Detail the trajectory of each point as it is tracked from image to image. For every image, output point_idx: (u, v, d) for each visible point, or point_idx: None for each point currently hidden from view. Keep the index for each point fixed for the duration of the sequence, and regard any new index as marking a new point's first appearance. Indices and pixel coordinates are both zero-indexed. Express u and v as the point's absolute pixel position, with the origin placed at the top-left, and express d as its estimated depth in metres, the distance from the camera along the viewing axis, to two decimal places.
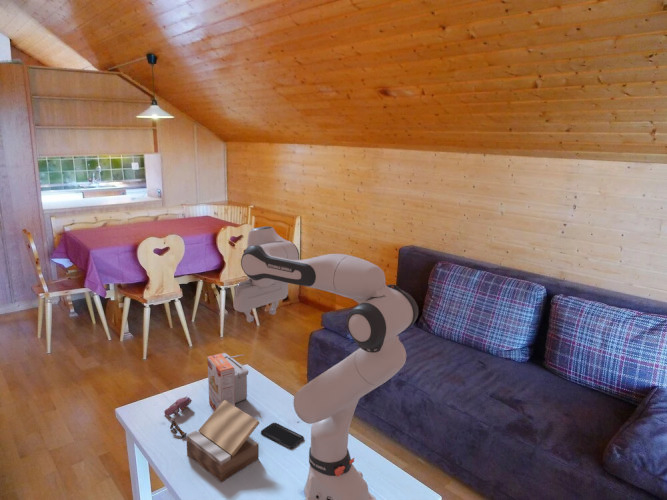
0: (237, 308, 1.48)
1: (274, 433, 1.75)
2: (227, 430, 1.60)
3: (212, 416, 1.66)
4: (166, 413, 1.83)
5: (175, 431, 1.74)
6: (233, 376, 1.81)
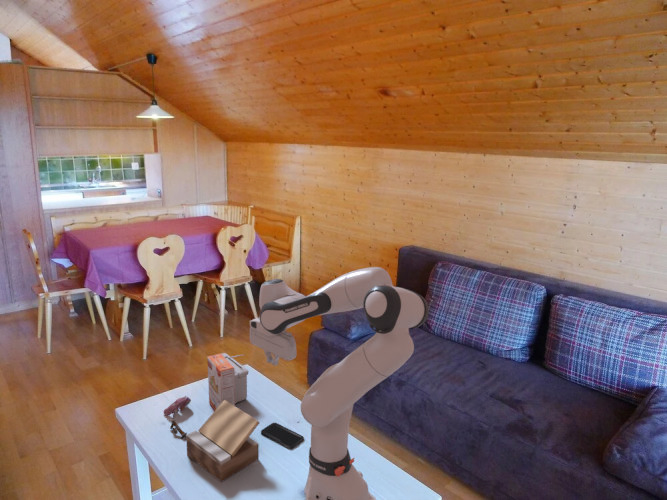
0: (293, 356, 1.59)
1: (274, 433, 1.75)
2: (227, 430, 1.60)
3: (212, 416, 1.66)
4: (165, 413, 1.84)
5: (175, 431, 1.74)
6: (233, 376, 1.81)
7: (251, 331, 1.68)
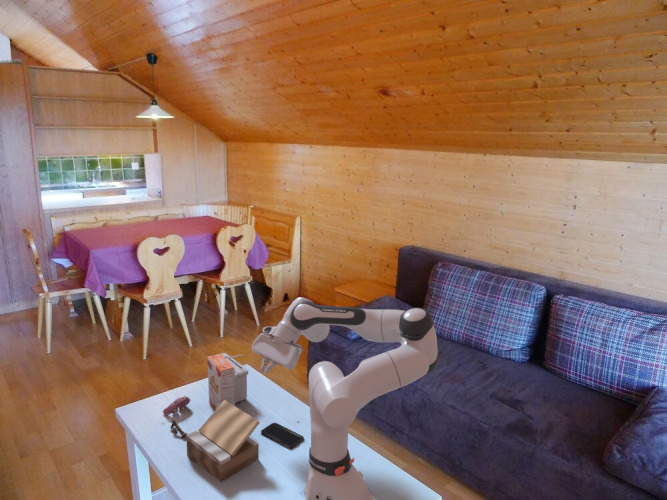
0: (292, 366, 1.66)
1: (274, 433, 1.75)
2: (227, 430, 1.60)
3: (212, 416, 1.66)
4: (165, 412, 1.84)
5: (175, 431, 1.74)
6: (233, 376, 1.81)
7: (259, 337, 1.77)
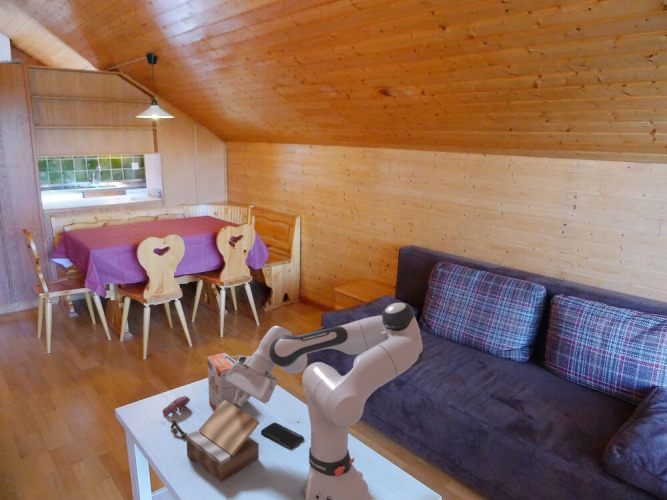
0: (266, 400, 1.59)
1: (274, 433, 1.75)
2: (227, 430, 1.60)
3: (212, 416, 1.66)
4: (164, 412, 1.84)
5: (176, 431, 1.74)
6: None
7: (233, 367, 1.70)
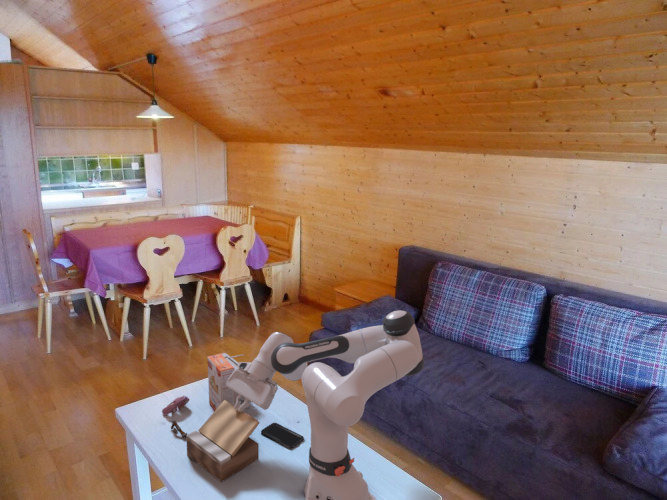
0: (266, 406, 1.60)
1: (274, 433, 1.75)
2: (227, 430, 1.60)
3: (212, 416, 1.66)
4: (164, 412, 1.84)
5: (176, 431, 1.74)
6: None
7: (234, 373, 1.71)
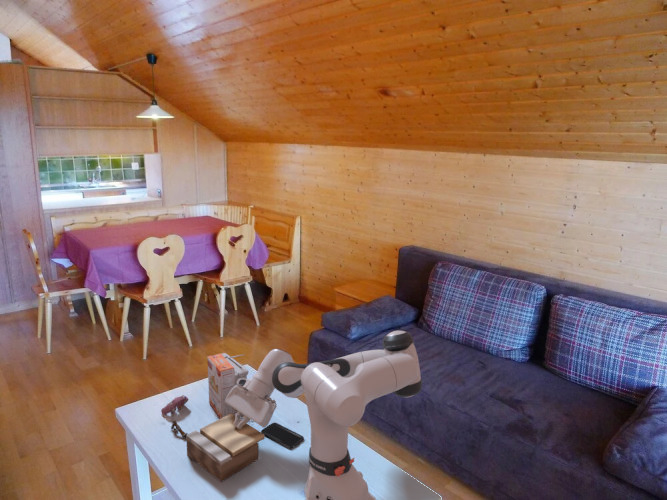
0: (265, 424, 1.61)
1: (274, 433, 1.75)
2: (231, 435, 1.61)
3: (216, 422, 1.68)
4: (163, 412, 1.84)
5: (176, 431, 1.74)
6: (233, 376, 1.81)
7: (233, 389, 1.72)
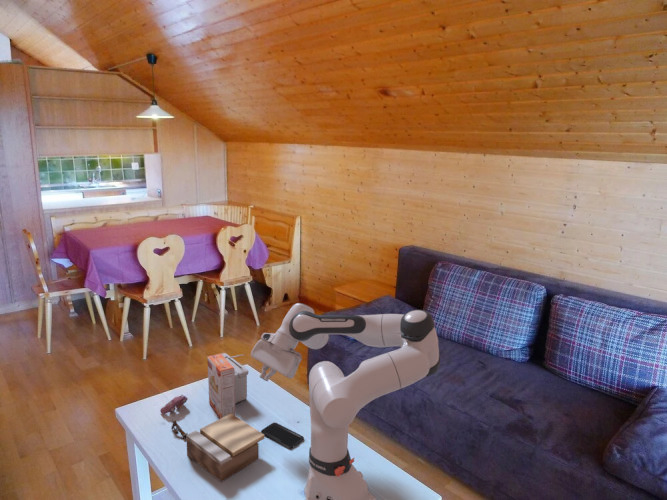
0: (292, 375, 1.66)
1: (274, 433, 1.75)
2: (231, 435, 1.61)
3: (216, 422, 1.68)
4: (162, 411, 1.84)
5: (176, 431, 1.74)
6: (233, 376, 1.81)
7: (258, 343, 1.76)
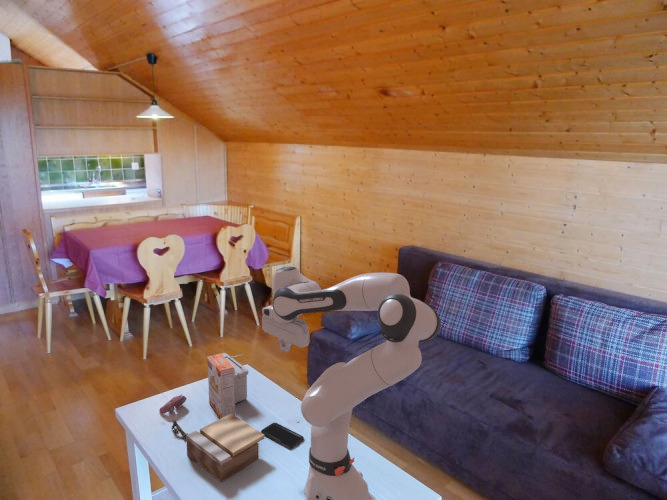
0: (307, 343, 1.60)
1: (274, 433, 1.75)
2: (231, 435, 1.61)
3: (216, 422, 1.68)
4: (161, 411, 1.84)
5: (176, 432, 1.74)
6: (233, 376, 1.81)
7: (264, 319, 1.68)
